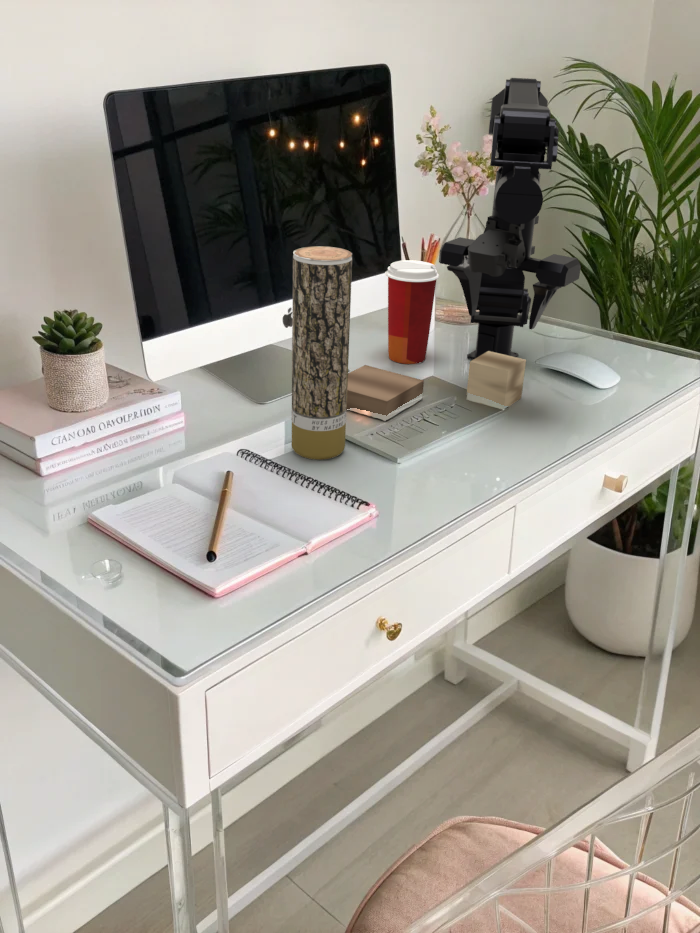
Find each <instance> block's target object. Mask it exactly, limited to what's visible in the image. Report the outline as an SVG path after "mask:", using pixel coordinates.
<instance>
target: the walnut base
mask: <svg viewBox="0 0 700 933" xmlns="http://www.w3.org/2000/svg"><path fill="white" fill-rule="evenodd" d="M424 383H425V381H424V379H421V378H420V379H419V378H415V377H412V376H409V375H405V374H401V373H397V372H394V371H390V370H386V369H383V368H378V367H374V366H371V365H366V364H364V365H363V366H360V367H358V368H356V369H354V370H352V371H350V372H348V385H347V409H350V408H357V409H360V410H366V411H370V412H373V413H378V414H382V415H386V416H387V415H388V414H389V413H391V412H392V411H394V410H396V409H397V408H398V407H400V406H402V405H403V404H405V403H407V402H409V401H410V400H412V399H414V398H416V397H417V396H419V395H420V394H422V393H423V394H424Z"/></svg>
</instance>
